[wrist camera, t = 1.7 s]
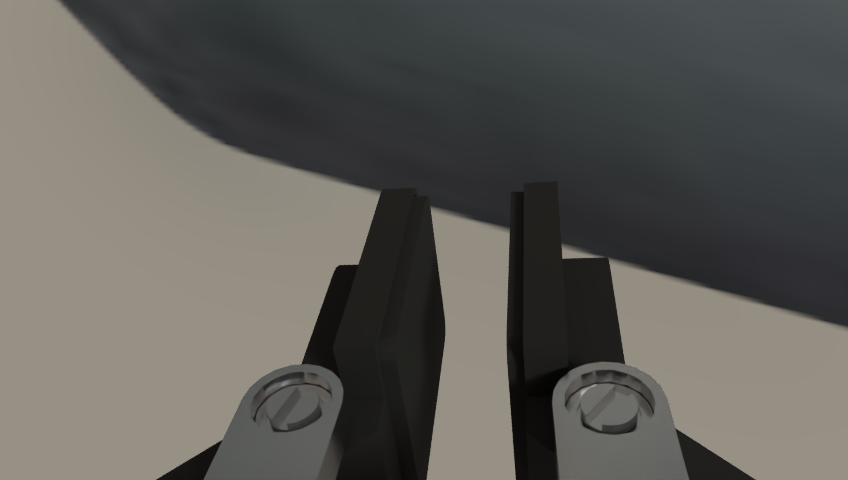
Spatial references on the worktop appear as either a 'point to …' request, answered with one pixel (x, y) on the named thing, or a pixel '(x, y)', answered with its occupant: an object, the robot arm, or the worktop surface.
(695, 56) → the worktop surface
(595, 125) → the worktop surface
